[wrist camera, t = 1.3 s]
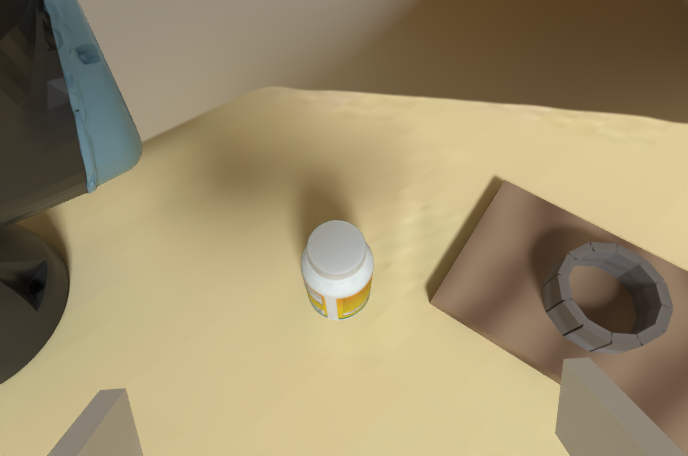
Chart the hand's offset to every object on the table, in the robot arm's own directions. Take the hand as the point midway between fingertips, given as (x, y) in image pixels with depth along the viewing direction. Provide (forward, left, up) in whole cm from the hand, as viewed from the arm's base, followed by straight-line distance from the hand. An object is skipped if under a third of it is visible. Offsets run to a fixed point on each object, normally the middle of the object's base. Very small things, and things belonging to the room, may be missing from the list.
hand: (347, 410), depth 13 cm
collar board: (+11, +19, -21) cm, 30 cm away
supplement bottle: (-7, +8, -21) cm, 24 cm away
